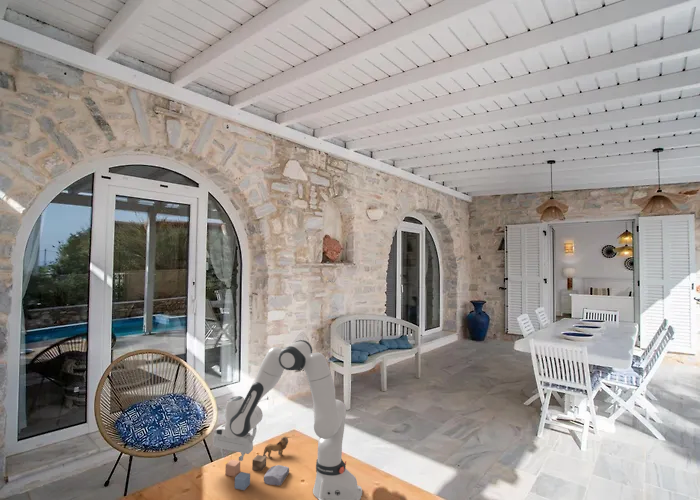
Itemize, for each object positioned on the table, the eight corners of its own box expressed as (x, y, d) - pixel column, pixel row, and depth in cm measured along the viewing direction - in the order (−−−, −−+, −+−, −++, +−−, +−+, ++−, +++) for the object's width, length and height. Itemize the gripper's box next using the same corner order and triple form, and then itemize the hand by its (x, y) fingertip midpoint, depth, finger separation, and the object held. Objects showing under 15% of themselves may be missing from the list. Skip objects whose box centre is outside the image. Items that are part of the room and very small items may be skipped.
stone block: (262, 487, 184) (282, 486, 182) (260, 477, 184) (280, 475, 182) (272, 474, 195) (291, 473, 194) (270, 464, 196) (289, 463, 194)
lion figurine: (285, 450, 215) (286, 433, 215) (289, 454, 210) (290, 438, 210) (259, 457, 207) (260, 440, 207) (263, 462, 202) (263, 444, 202)
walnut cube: (266, 466, 198) (266, 456, 198) (261, 471, 194) (261, 461, 194) (257, 464, 200) (257, 454, 200) (252, 469, 195) (252, 459, 195)
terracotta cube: (240, 471, 193) (240, 461, 193) (234, 476, 189) (234, 466, 189) (231, 469, 195) (231, 459, 195) (225, 474, 190) (225, 464, 190)
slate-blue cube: (249, 484, 183) (250, 473, 183) (244, 490, 178) (244, 479, 178) (240, 482, 184) (240, 471, 184) (234, 488, 180) (234, 477, 180)
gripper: (256, 431, 192) (254, 459, 192) (219, 424, 197) (218, 451, 197) (249, 436, 186) (248, 466, 186) (211, 429, 191) (210, 457, 191)
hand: (232, 458), depth 192 cm, fingers open, 8 cm apart
